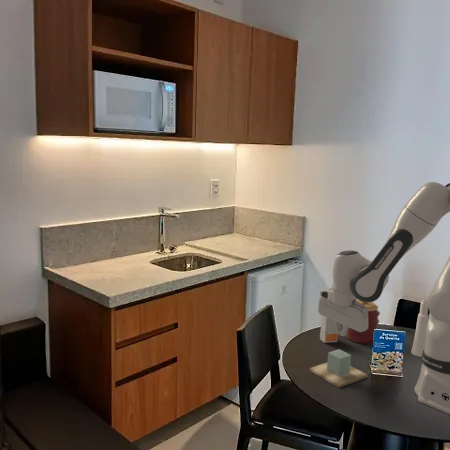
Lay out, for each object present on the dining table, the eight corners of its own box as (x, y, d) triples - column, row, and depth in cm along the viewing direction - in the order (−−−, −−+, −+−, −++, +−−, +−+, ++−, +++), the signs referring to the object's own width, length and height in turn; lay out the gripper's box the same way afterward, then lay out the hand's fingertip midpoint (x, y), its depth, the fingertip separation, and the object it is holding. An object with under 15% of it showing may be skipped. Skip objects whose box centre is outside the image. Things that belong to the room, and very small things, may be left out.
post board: (366, 377, 170) (368, 359, 169) (339, 387, 162) (340, 368, 161) (337, 361, 181) (338, 344, 180) (309, 370, 174) (310, 352, 172)
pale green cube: (349, 372, 171) (351, 355, 170) (338, 376, 168) (340, 358, 166) (337, 366, 175) (339, 349, 174) (326, 369, 172) (328, 352, 171)
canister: (353, 345, 196) (357, 303, 192) (340, 332, 208) (343, 293, 205) (383, 343, 198) (387, 302, 195) (367, 330, 211) (371, 292, 208)
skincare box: (324, 343, 197) (326, 315, 195) (319, 339, 201) (321, 311, 199) (337, 342, 198) (340, 314, 196) (332, 337, 202) (334, 310, 200)
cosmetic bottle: (430, 354, 190) (436, 300, 186) (422, 358, 186) (428, 304, 182) (415, 349, 194) (421, 296, 190) (407, 353, 190) (413, 299, 186)
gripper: (374, 304, 160) (370, 343, 162) (329, 287, 176) (326, 323, 179) (361, 307, 156) (358, 347, 159) (316, 290, 173) (313, 326, 175)
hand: (340, 334), depth 169 cm, fingers closed
